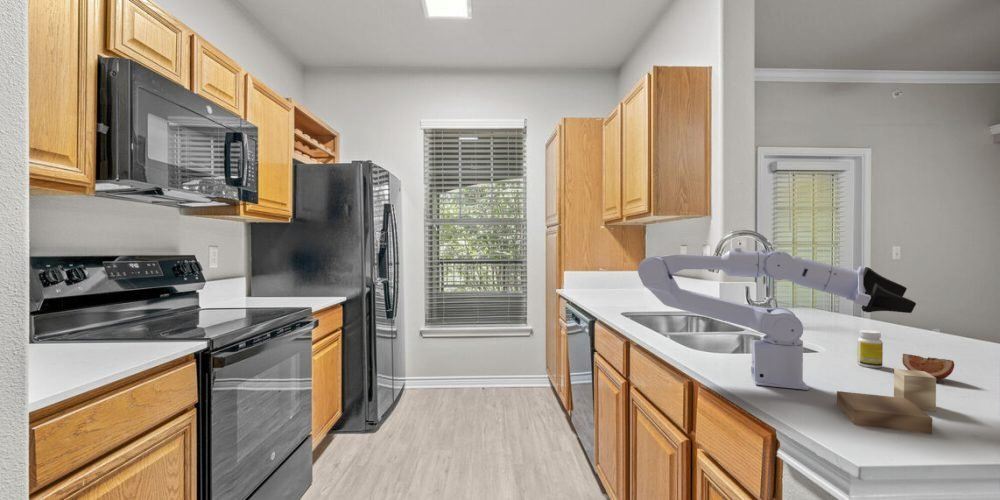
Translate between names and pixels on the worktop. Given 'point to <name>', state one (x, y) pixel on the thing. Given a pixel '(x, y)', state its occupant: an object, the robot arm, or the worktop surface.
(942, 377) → the fruit slice
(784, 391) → the worktop surface
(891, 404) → the walnut block
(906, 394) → the birch block
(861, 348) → the supplement bottle
